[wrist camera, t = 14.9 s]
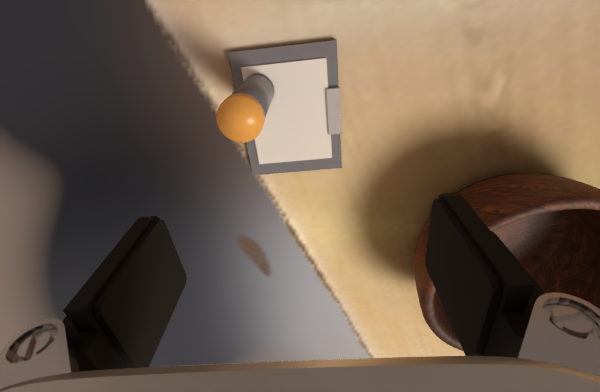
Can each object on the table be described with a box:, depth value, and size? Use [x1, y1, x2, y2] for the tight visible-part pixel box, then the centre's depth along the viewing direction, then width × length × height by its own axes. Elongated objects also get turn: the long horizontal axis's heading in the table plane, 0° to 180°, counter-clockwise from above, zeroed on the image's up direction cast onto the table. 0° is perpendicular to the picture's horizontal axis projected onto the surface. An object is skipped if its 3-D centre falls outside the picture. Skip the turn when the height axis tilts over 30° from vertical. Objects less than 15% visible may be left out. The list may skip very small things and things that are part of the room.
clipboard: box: [228, 40, 342, 175], centre depth 35 cm, size 11×14×1 cm
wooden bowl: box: [415, 173, 600, 351], centre depth 39 cm, size 25×25×10 cm
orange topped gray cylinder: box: [217, 73, 275, 142], centre depth 29 cm, size 4×4×11 cm
